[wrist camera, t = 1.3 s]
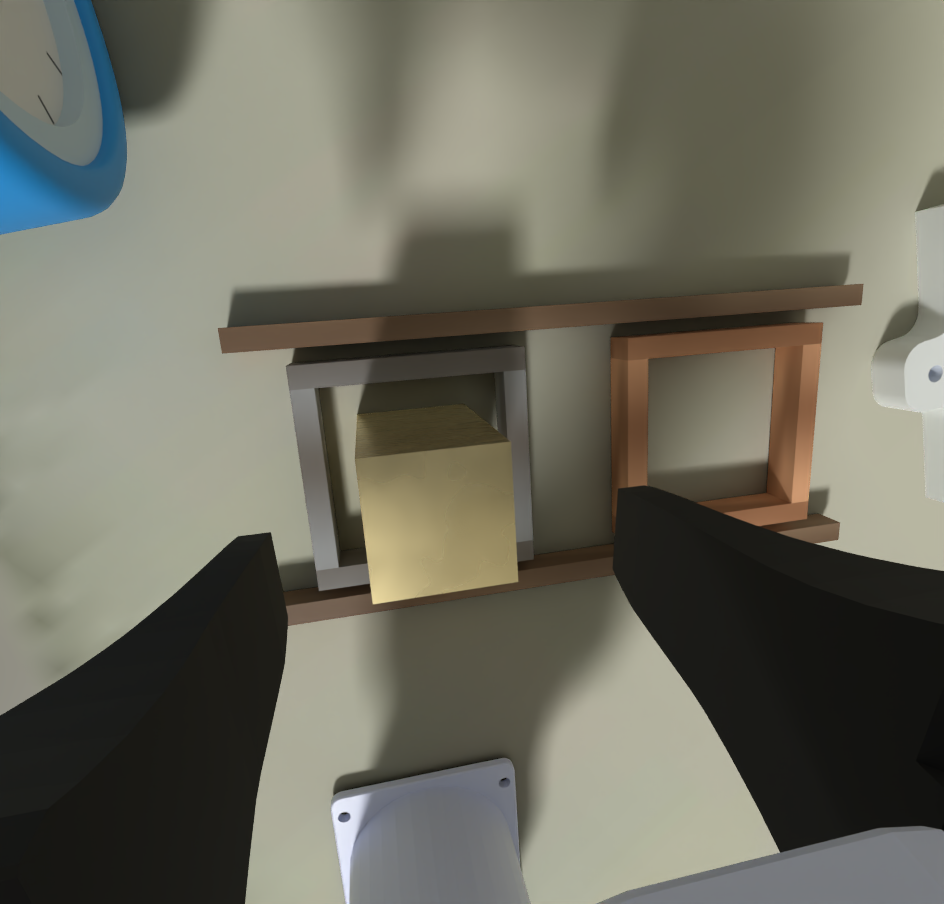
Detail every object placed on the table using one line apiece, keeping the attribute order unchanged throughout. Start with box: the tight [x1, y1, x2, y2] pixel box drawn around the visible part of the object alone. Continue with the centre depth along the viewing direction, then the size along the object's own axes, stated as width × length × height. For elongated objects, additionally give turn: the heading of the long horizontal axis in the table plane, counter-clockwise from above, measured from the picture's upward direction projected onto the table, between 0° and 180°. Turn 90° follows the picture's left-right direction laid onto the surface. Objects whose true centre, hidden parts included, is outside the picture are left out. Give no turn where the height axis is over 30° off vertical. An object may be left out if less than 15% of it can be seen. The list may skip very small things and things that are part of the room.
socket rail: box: [218, 284, 863, 626], centre depth 21 cm, size 11×24×2 cm, turn 94°
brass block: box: [355, 404, 518, 604], centre depth 18 cm, size 4×4×7 cm
